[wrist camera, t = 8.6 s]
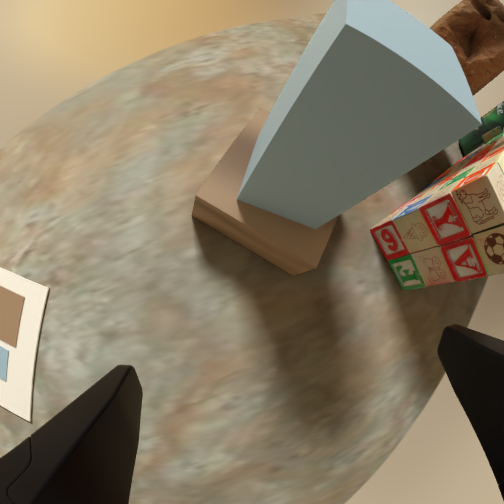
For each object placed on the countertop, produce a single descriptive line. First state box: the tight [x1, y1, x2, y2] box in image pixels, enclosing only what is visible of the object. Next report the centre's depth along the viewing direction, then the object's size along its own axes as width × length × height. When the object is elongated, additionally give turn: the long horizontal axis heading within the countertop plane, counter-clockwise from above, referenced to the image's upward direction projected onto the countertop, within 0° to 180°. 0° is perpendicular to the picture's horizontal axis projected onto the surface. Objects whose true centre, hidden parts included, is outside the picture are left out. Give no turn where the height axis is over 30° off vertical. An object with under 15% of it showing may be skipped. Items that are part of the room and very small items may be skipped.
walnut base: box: [192, 108, 339, 276], centre depth 19 cm, size 8×8×4 cm
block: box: [430, 0, 504, 95], centre depth 18 cm, size 11×8×20 cm
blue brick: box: [237, 0, 482, 229], centre depth 12 cm, size 5×5×12 cm
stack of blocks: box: [370, 132, 504, 290], centre depth 20 cm, size 21×6×12 cm, turn 123°
